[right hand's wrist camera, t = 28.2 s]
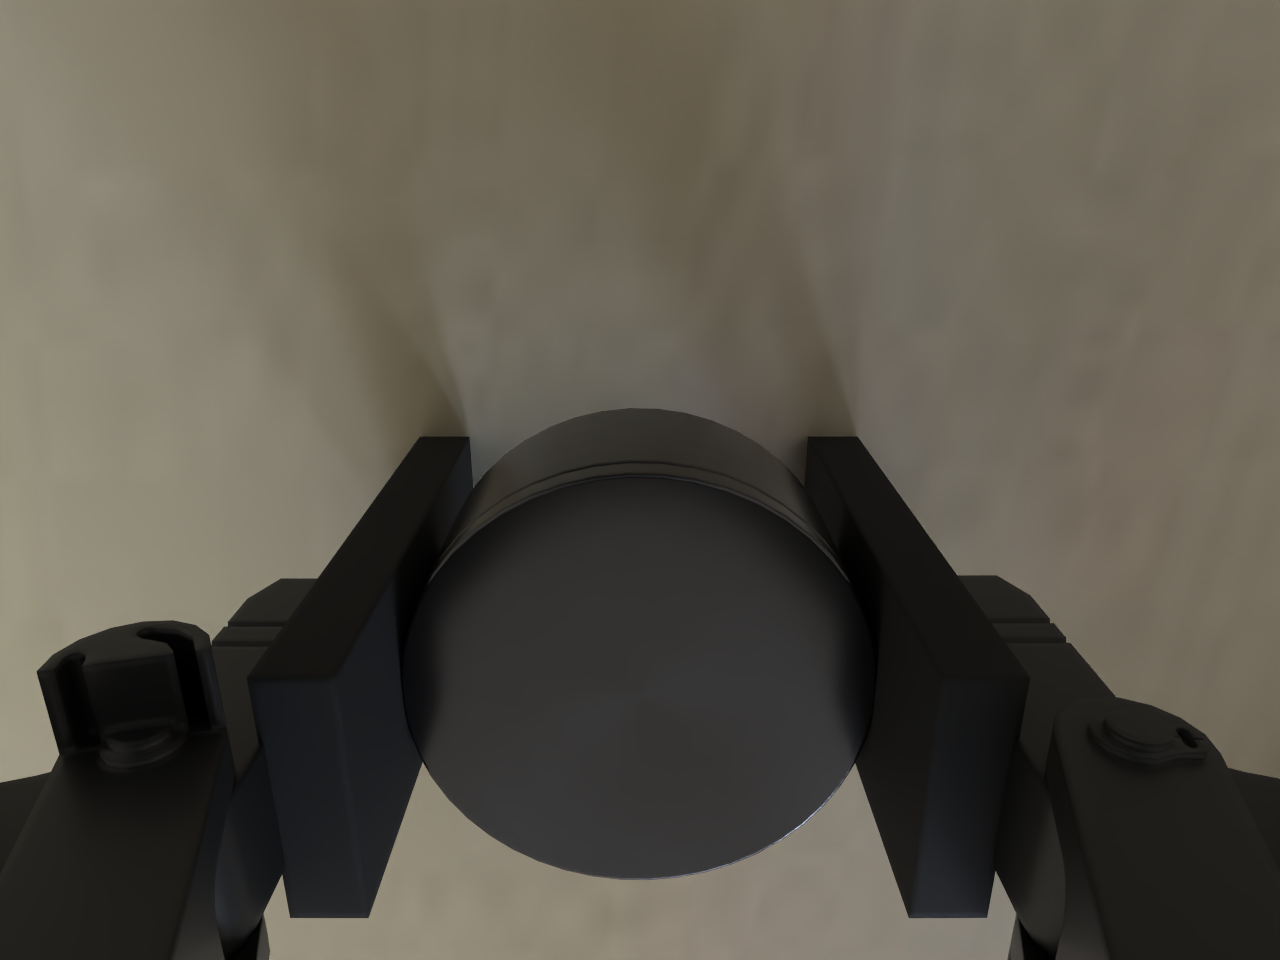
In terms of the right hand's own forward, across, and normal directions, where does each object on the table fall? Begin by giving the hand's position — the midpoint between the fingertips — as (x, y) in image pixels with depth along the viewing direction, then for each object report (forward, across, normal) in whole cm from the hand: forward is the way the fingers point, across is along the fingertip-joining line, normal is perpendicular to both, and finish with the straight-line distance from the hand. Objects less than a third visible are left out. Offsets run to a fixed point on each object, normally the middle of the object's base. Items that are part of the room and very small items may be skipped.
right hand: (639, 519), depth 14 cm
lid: (-4, 0, 0) cm, 4 cm away
